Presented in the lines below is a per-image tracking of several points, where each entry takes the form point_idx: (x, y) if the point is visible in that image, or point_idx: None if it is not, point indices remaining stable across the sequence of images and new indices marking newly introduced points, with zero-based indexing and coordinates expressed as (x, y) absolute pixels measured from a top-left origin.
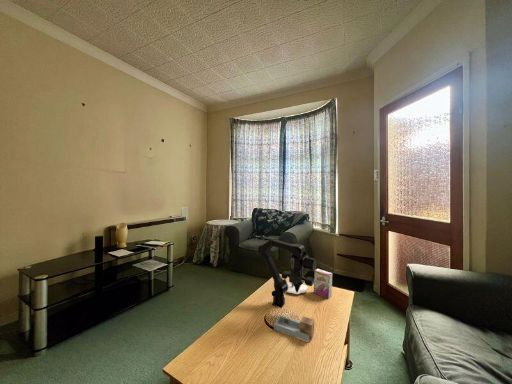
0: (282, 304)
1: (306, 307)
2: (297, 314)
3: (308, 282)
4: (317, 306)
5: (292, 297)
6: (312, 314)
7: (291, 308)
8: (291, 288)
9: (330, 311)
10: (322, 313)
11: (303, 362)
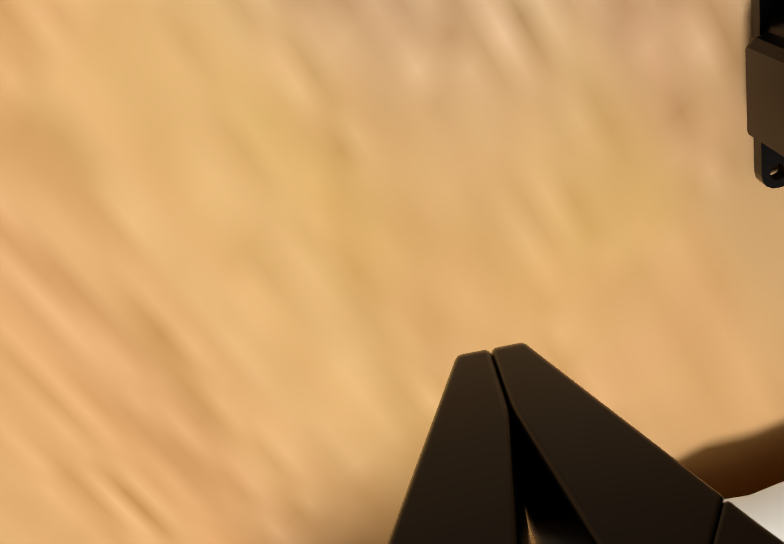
0: (778, 37)
1: (348, 351)
2: (335, 29)
3: None
4: (235, 488)
5: (703, 418)
6: (134, 255)
7: (552, 121)
8: None
9: (14, 514)
10: (48, 396)
11: None
